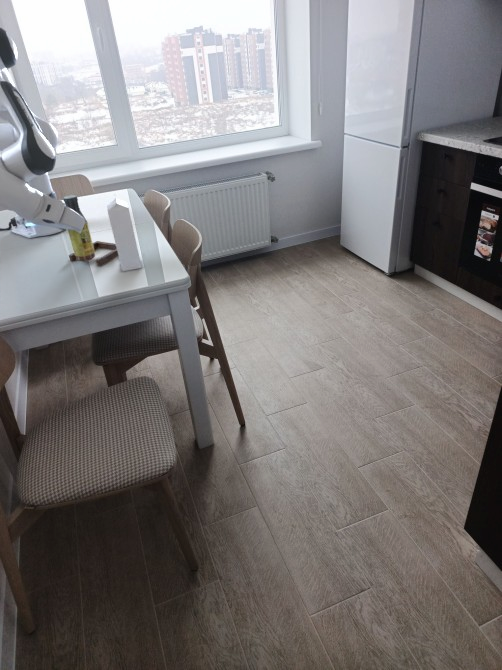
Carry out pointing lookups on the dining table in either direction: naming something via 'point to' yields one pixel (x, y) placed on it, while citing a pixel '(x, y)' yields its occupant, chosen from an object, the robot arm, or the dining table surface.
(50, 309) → the dining table surface
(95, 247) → the bottle bay
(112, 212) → the milk
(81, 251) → the sauce bottle
